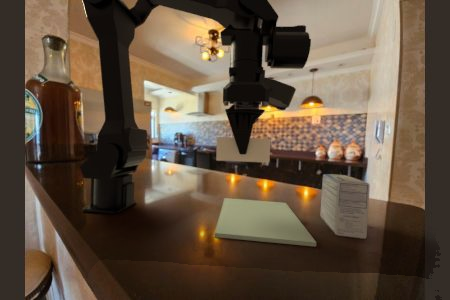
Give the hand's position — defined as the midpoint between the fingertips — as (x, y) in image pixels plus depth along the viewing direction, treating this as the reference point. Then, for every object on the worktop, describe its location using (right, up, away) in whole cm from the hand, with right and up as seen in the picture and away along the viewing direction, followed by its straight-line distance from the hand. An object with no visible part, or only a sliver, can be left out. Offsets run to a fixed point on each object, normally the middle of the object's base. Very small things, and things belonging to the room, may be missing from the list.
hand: (242, 153), depth 34 cm
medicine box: (+17, -13, -2) cm, 21 cm away
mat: (+3, -12, 0) cm, 12 cm away
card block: (0, -1, 0) cm, 1 cm away
